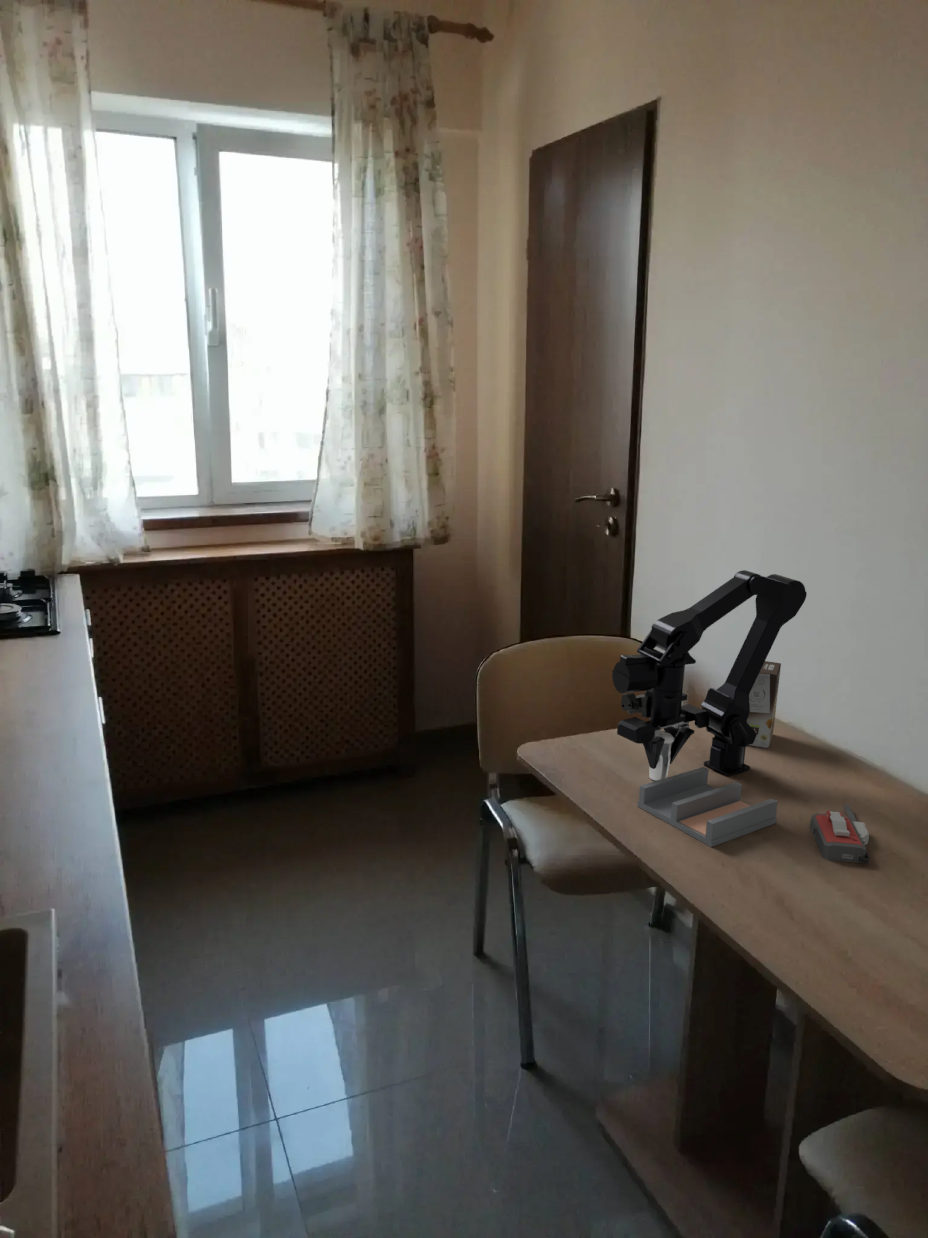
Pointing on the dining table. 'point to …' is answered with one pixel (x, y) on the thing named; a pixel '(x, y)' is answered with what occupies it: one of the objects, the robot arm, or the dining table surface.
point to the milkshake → (663, 758)
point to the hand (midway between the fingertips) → (660, 765)
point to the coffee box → (764, 703)
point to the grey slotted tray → (705, 807)
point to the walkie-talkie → (840, 836)
